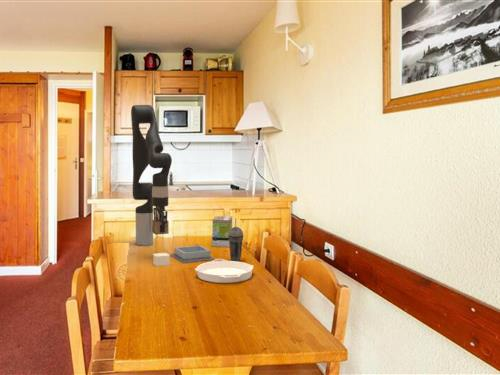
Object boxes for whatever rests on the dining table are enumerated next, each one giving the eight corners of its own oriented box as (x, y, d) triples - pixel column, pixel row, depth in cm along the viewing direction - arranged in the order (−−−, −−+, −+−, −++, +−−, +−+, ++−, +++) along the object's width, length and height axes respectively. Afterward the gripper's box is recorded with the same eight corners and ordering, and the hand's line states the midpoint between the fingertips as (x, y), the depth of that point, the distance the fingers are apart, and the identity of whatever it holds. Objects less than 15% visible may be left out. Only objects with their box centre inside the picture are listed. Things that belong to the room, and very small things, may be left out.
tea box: (230, 247, 234) (230, 219, 233) (211, 246, 235) (211, 219, 233) (232, 241, 249) (232, 215, 248) (214, 241, 250) (214, 215, 248)
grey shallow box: (170, 255, 214) (170, 247, 214) (200, 251, 222) (200, 244, 222) (182, 263, 199) (182, 254, 198) (215, 259, 206) (215, 251, 206)
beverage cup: (244, 258, 209) (244, 216, 207) (242, 262, 202) (242, 219, 200) (229, 258, 210) (229, 216, 208) (226, 261, 202) (227, 218, 201)
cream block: (153, 263, 198) (153, 253, 198) (166, 262, 201) (166, 252, 201) (156, 266, 193) (156, 256, 193) (169, 265, 195) (169, 255, 195)
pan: (199, 287, 164) (199, 277, 164) (190, 269, 190) (190, 260, 190) (262, 283, 171) (263, 273, 170) (244, 266, 197) (245, 257, 196)
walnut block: (152, 232, 210) (152, 219, 209) (164, 231, 212) (164, 219, 212) (156, 234, 204) (155, 221, 204) (168, 233, 207) (168, 221, 207)
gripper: (147, 194, 211) (148, 229, 213) (157, 197, 198) (157, 234, 200) (163, 193, 215) (163, 227, 216) (173, 197, 202) (173, 233, 204)
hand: (160, 230), depth 208 cm, fingers closed on walnut block, 6 cm apart
